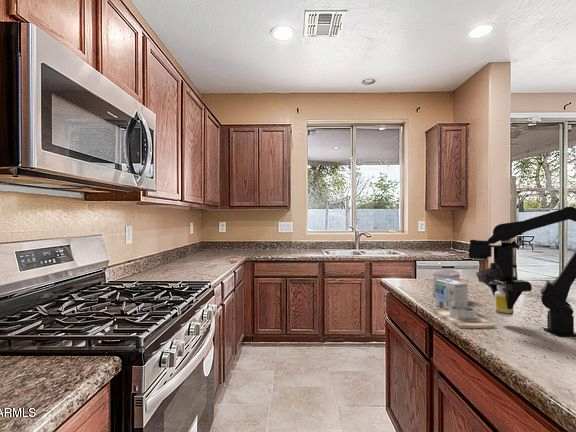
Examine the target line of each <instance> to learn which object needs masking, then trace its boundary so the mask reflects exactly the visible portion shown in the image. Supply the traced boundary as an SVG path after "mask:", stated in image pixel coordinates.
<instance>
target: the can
mask: <svg viewBox="0 0 576 432" xmlns="http://www.w3.org/2000/svg"><path fill="white" fill-rule="evenodd" d="M440 279H451V280H455V281H460V282H461V271H457V270H453V269H440V270H433V271H432V298H433V299H435V286H436V282H435V281H436V280H440Z"/></svg>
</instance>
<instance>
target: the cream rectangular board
mask: <svg viewBox="0 0 576 432" xmlns="http://www.w3.org/2000/svg"><path fill="white" fill-rule="evenodd" d="M434 314H436V315H437V316H439V317H441V318H442V319H444V320H445V321H447V322H449V323H450V324H452V325H454V326H455V327H456V328H458V329H494V328H496V324H494V323H492V322H490V321H489V320H487V319H485V318H482V317H480V316H479V315H477V314H476V320H468V321H466V320H458V319H454V318H452V317H450V310H448V309H445V310H444V309H442V310H441V309H438V310H436V309H434Z"/></svg>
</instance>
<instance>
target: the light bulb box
mask: <svg viewBox="0 0 576 432" xmlns="http://www.w3.org/2000/svg"><path fill="white" fill-rule="evenodd" d="M435 282H436V286H435V298H434V299H435V301H434V302H435V306H437V307H439V308H442V309H445V310H450V306H467V307H469V306H468V302H469V301H468V299H469V298H468V297H469V296H468V294H469V293H468V288H469V287H468V283H467V282H464V281H461V280H460V281H455V280H451V279H440V280H436V281H435Z"/></svg>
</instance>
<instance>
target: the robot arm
mask: <svg viewBox="0 0 576 432" xmlns="http://www.w3.org/2000/svg"><path fill="white" fill-rule="evenodd" d="M567 220H571V221H573V222H575V223H576V207H574V206H571V205H569V206H566V207H563V208H561V209H558V210H555V211H551V212H547V213H544V214H542V215H538V216H535V217H531V218H528V219H524V220H521V221H520V220H519V221H512V222H504V223H500V224H497V225H496V226H495V227H494V228H493V229H492V233H493V234H492V235H491V236H490V237H489V238H488V239H487V240H481V239H480V240H479V239H470V241H469V248H468V257H469V260H470V259H471V260H484V261H486V260H487V261H488V260H489V258H492V256H493V262H490V264H489V267H488V268H484V269H481V270H479V271H477V272H476V273H475V274H476V276H477V277H476V278H477V279H478V281H479V282H478V283H483V284H485V285H486V286H488V288H490V290H491V292H492V295H493V298H494V299H495V292H496V291H498V289H497V285H499V284H502V285H505V286H506V289H502V290H503V291H504V292H505V293H506V301H507V308H508V309H512V307H513V308H514V306H515V304H516V302H517V301H518V299H519V297H520V296H521V295H522V294H523V293H524V292H532V289H533V288H532V284H531V282H529V281H527V280H522V279H518V280H517V277H515V271H514V268H517V269H518V267H517V263H516V264H514V256H515V252H514V249H520V248H521V245H520V244H518V243H517V242H516V240H512V239H513V238H517V236H520V235H522V234H524V233H526V232H529V231H533V230H537V229H540V228H543V227H547V226H551V225H553V224H557V223H561V222H564V221H567ZM509 239H511V240H512V241H511V243H504V242H502V243H501V241H507V240H509ZM499 241H500V245H499V244H497V243H498V242H499ZM575 280H576V250H575V251H574V252H573V254H572V255H571V257H570V258H569V260H567V262H566V264H565V266H564V267H563V269H562V270H561V272H560V273H559V275H558V276H557V277H556V279H554V280H553V281H550V280H548V279H547V280H546V282H545V285H544V286H543V287H542V288H540V299H541V303H542V305H543V306H544V307H545V308H547V309H548V310H547V315H546V316H547V317H546V318H547V320H546V321H547V326H546V327H543V331H545V332H548V333H550V334H552V335H555V336H557V337H576V332H575V331H574V327H575V325H574V323H575V322H574V320H575V319H574V318H575V316H574V315H573V314H574V310H573V307H572V304H570V303H569V302H568V301H567V298H568V296H569V293H570V290H571V286H572V284H573V283H574V282H575Z"/></svg>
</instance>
